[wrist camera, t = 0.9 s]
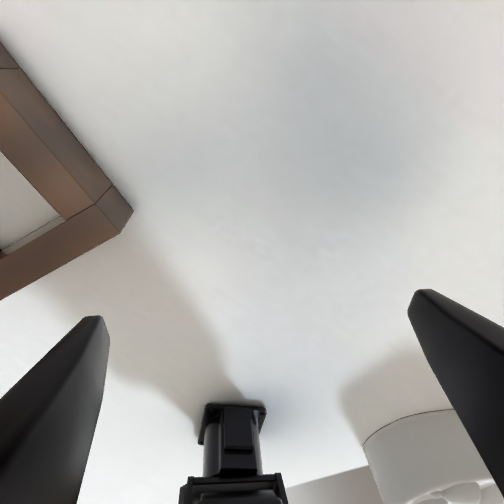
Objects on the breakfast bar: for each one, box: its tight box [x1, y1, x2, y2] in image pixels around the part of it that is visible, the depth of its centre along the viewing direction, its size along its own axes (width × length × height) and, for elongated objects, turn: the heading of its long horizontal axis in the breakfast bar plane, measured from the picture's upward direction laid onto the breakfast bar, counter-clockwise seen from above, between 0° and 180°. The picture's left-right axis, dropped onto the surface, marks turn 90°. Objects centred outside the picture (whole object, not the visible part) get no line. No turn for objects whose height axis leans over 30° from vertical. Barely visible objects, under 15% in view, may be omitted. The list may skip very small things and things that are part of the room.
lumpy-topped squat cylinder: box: [363, 410, 504, 504], centre depth 36 cm, size 10×13×9 cm
